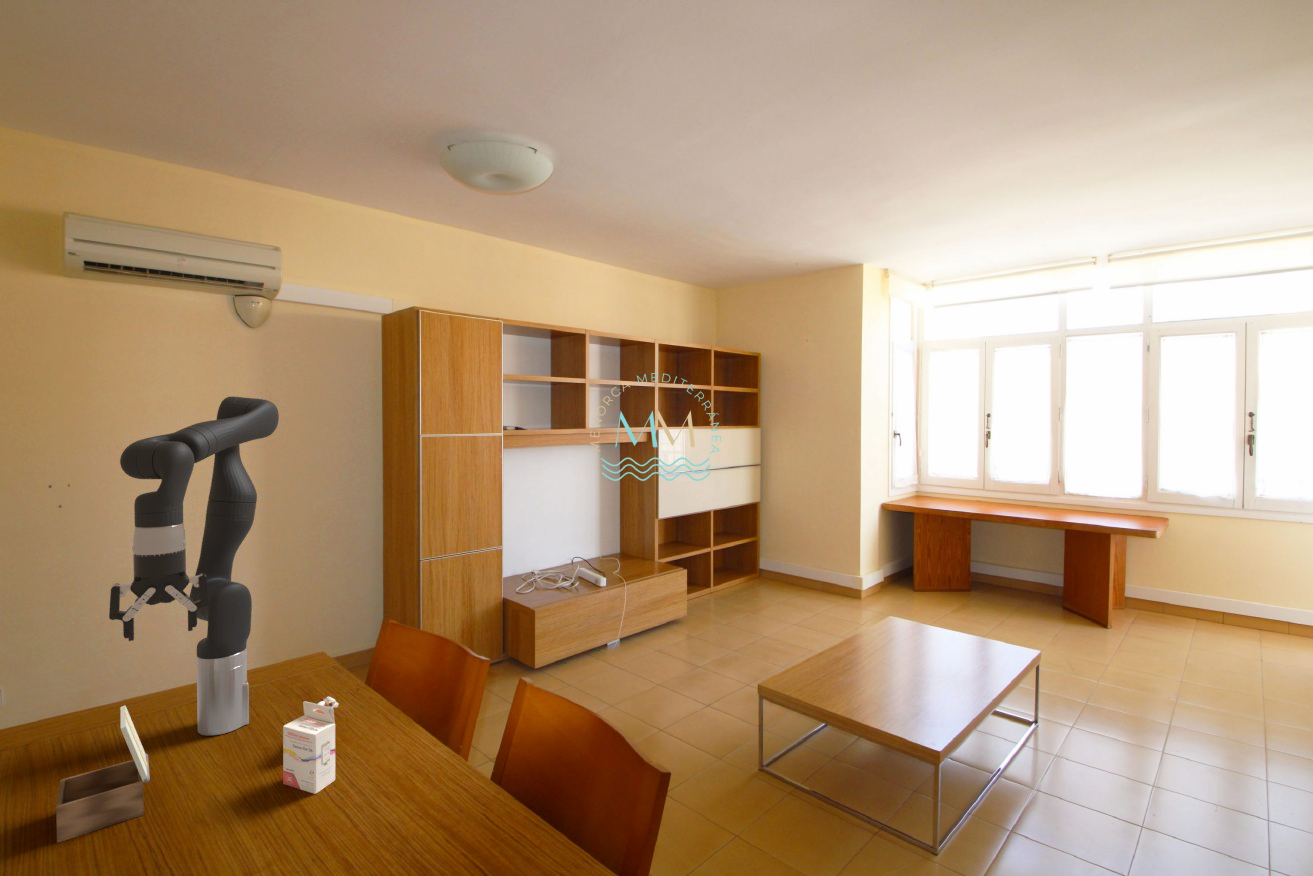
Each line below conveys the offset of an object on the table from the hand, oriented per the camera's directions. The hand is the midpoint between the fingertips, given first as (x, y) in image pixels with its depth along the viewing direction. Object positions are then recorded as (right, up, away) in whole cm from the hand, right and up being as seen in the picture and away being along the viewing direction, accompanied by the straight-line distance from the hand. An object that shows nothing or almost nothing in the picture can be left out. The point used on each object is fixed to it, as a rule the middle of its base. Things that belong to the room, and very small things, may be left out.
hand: (161, 634), depth 114 cm
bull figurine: (+18, -30, +19) cm, 40 cm away
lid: (-3, -19, -3) cm, 19 cm away
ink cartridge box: (+25, -31, +5) cm, 40 cm away
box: (-6, -30, -5) cm, 31 cm away
